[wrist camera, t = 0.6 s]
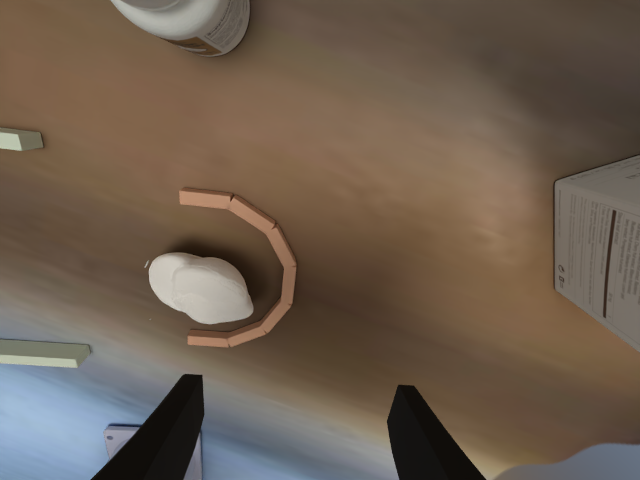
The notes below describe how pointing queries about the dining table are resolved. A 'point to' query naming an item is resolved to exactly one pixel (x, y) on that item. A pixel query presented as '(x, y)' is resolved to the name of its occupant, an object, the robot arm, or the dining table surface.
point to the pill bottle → (191, 22)
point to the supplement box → (601, 245)
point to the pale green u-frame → (30, 349)
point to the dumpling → (200, 287)
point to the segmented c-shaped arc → (281, 249)
